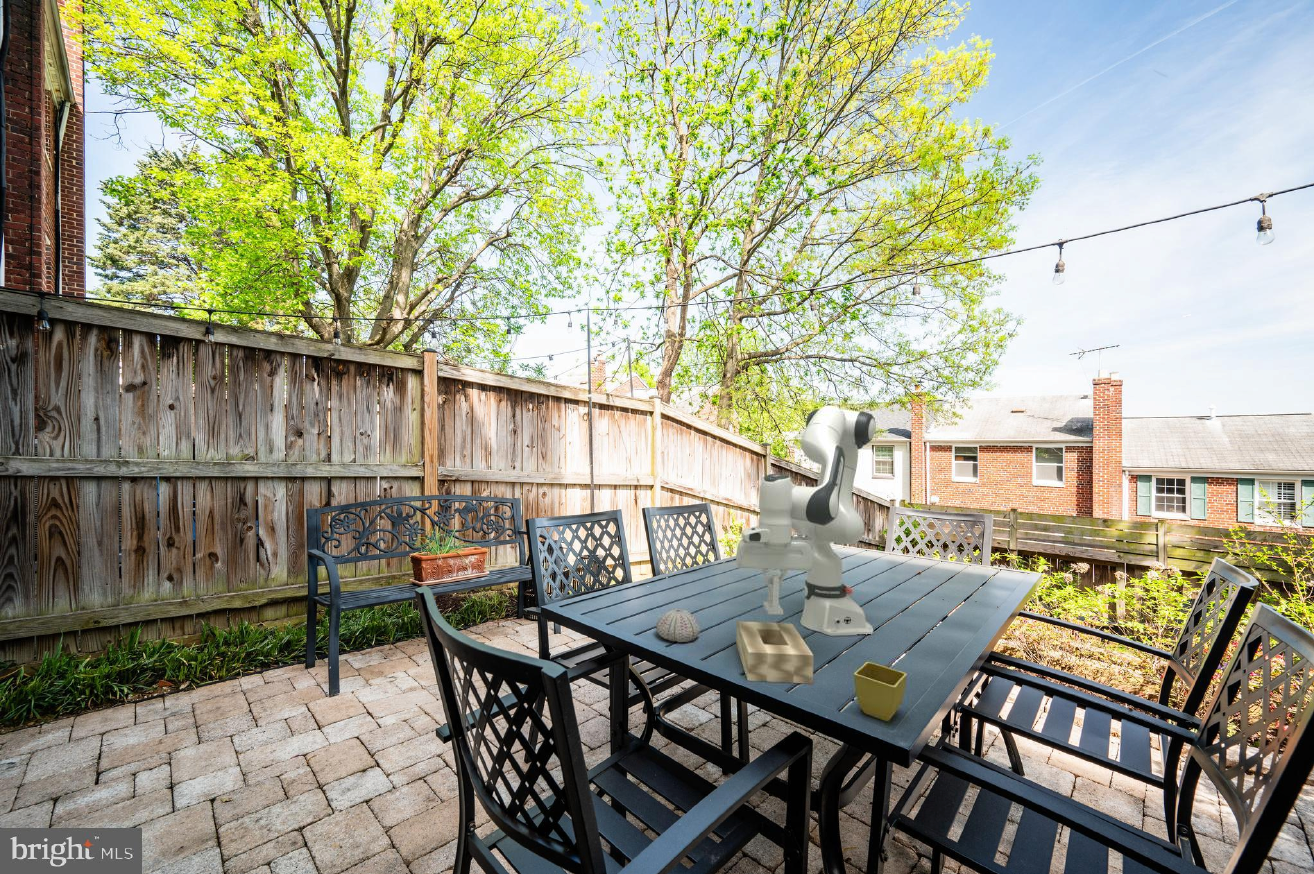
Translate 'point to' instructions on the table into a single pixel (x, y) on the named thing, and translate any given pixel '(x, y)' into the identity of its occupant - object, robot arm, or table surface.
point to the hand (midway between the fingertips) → (773, 585)
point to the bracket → (773, 595)
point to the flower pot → (879, 690)
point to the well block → (774, 653)
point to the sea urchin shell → (678, 626)
